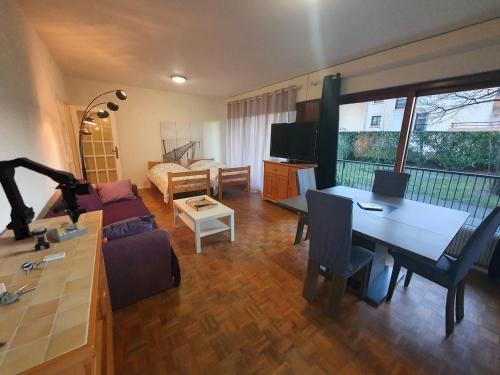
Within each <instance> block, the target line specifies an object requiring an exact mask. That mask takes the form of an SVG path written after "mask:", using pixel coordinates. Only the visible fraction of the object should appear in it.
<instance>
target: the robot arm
mask: <svg viewBox="0 0 500 375" xmlns="http://www.w3.org/2000/svg"><path fill="white" fill-rule="evenodd" d="M20 167H22V168H24V169H27V170H29V171H32V172H35V173H38V174H39V175H43V176H46V177H47V178H49V179H51V180H52V181H53V182H55V183H56V184H57V185H56V187H55V188H54V190H60V193H61V197H62V198H60V199H61V200H60V202H59V203H56V204H54V205H52V206H50V207H49V208H48V209H49V211H50V212H52V214H54V215H59V214H60V213H61V212H63V214H65V215H67V216H68V217H69V219H70V221H71V222H72V224H74V225H75V223H77V222H79V218H80V216H81V215H84V214H87V213H88V210H87V208H85V207H82V206H81V205H80V204H79V203H78V202H79V201H78V200H79V197H80V196H92V195H93V194H94V187H93V185H92V184H91V182H81V181H80V180H78V179H77V178H76V177H75V175H74V174H73V172H69V171H65V170H60V169H56V168H55V169H54V168H53V167H50V166H47V165H44V164H42V163H41V162H38V161H34V160H32V159H30V158H28V157H25V156H23V157H16V158H14V159H9V160H6V159H4V160H3V159H2V160H0V186H1V188H2V190H3V192H4V194H5V197H6V199H7V201H8V203H9V205H10V208H11V209H10V213H9V214H10V216H9V217H10V222H8V224H7V225H6V226H5V228H6V229H7V230H8V231H12V233H13V237H12V239H13V241H15V242H19V241H22V240H25V239H28V238H33V237H34V236H32V234H31V233H30V232H31V230H30V226H29V224H32V222H33V219H34V218H35V217H36V216H35V215H36V214H37V213H36V212H35V211H34V207H33V206H31V207H29V206H27V205H26V204H25V201H24V199H23V196H22V194H21V191H20V190H19V189H20V188H19V186H18V184H17V182H16V180H15V175H16V168H20Z"/></svg>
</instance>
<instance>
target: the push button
mask: <svg viewBox="0 0 500 375" xmlns="http://www.w3.org/2000/svg"><path fill="white" fill-rule="evenodd" d="M30 233H31V234H32V236H33V237H34V239H35V245H34V247H30V251H36V252H37V251H42V250H46V249H47V250H49V249H50V248H51V243H50V241H49V240H47V236H46V235H47V234H46V233H48V229H47V228H46V227H44V226H39V227H35V228H33V229H32V231H31V230H30Z"/></svg>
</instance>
